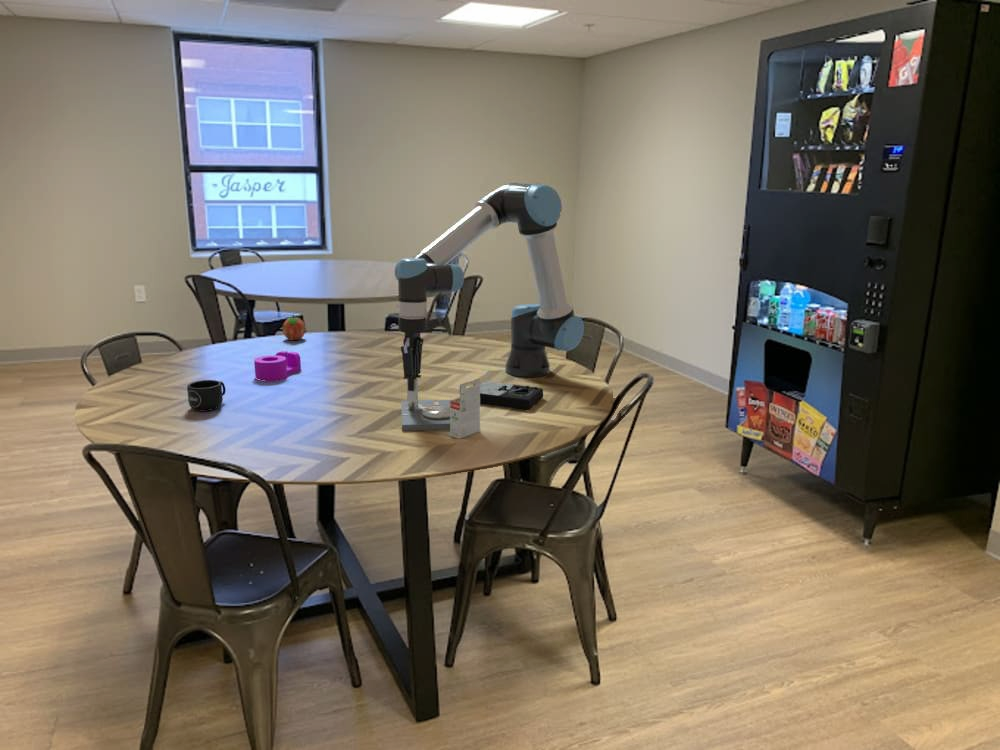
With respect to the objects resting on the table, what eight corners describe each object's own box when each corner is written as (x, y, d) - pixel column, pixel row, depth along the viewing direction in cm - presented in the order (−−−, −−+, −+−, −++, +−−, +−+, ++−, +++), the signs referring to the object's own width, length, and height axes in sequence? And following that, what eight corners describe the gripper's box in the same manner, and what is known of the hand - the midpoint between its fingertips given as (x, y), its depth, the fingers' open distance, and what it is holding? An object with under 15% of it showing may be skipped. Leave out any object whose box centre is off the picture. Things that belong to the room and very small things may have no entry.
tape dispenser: (276, 383, 240) (274, 364, 238) (249, 380, 243) (247, 361, 241) (303, 370, 255) (302, 352, 253) (277, 368, 257) (276, 350, 256)
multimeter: (528, 412, 216) (529, 395, 215) (467, 403, 223) (467, 387, 222) (543, 399, 228) (544, 384, 227) (485, 392, 235) (485, 376, 234)
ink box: (449, 436, 195) (449, 382, 191) (470, 428, 201) (470, 376, 197) (459, 439, 193) (459, 385, 189) (480, 432, 199) (481, 378, 195)
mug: (206, 415, 208) (204, 390, 206) (182, 410, 212) (179, 385, 210) (237, 403, 219) (235, 379, 217) (214, 399, 222) (212, 375, 220)
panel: (470, 404, 221) (470, 398, 221) (477, 428, 201) (477, 422, 201) (401, 406, 219) (401, 400, 218) (402, 430, 198) (402, 424, 198)
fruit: (279, 341, 294) (277, 316, 291) (289, 336, 303) (288, 311, 301) (300, 342, 293) (298, 317, 290) (310, 337, 302) (308, 312, 299)
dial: (461, 412, 209) (461, 391, 207) (443, 421, 201) (443, 399, 199) (417, 404, 215) (417, 383, 214) (399, 412, 208) (398, 391, 206)
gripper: (406, 312, 209) (406, 394, 215) (391, 319, 197) (391, 406, 203) (432, 314, 208) (431, 396, 213) (419, 321, 196) (418, 408, 201)
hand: (412, 401), depth 208 cm, fingers closed
